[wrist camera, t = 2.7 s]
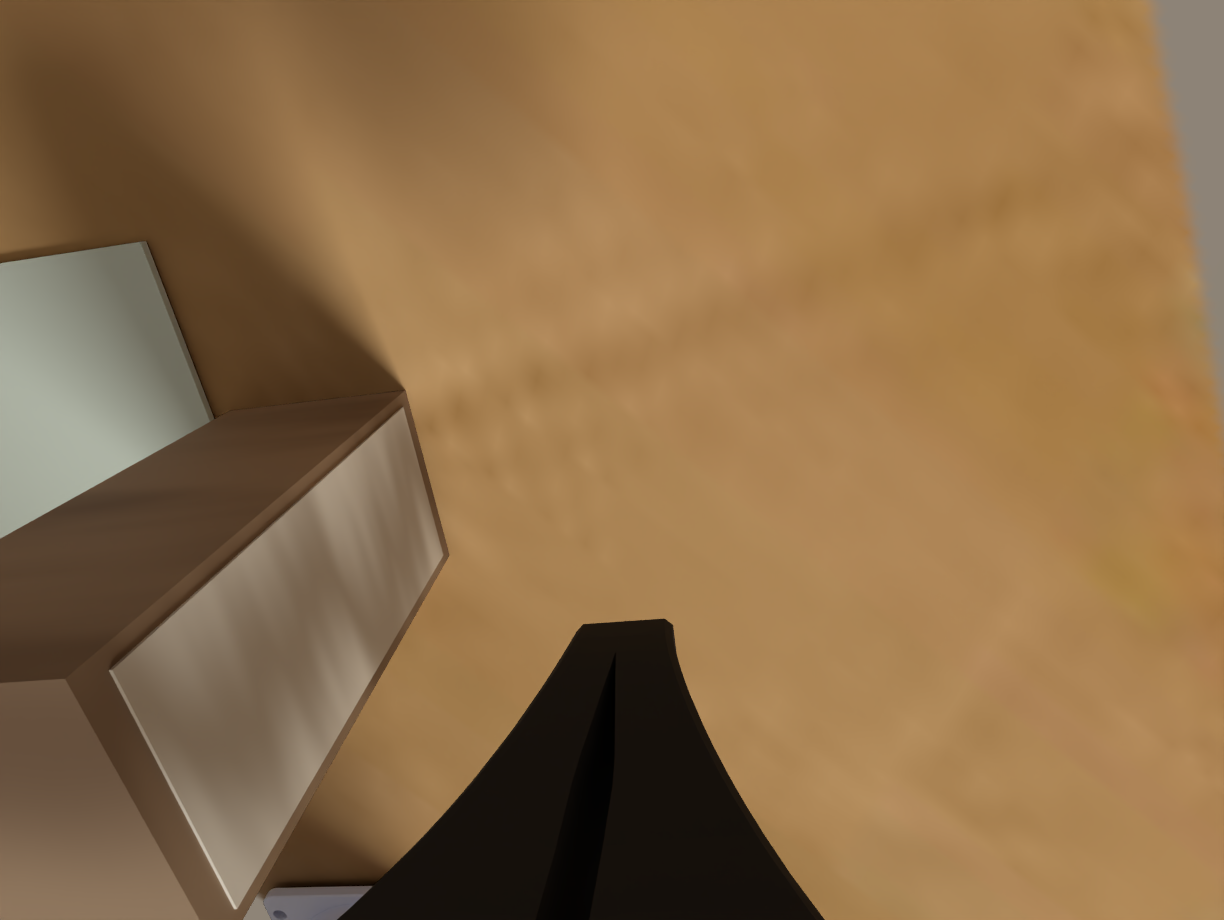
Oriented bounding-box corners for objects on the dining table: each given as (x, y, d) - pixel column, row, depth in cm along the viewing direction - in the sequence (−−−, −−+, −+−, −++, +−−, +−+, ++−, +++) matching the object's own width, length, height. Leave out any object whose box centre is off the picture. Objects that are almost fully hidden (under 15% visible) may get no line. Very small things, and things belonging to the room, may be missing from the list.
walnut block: (451, 555, 20) (223, 957, 10) (288, 568, 20) (-82, 960, 10) (407, 389, 18) (68, 677, 8) (229, 410, 19) (-293, 701, 8)
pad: (318, 689, 22) (315, 694, 22) (19, 707, 24) (14, 711, 23) (146, 240, 17) (140, 241, 17) (-227, 298, 18) (-237, 299, 18)
